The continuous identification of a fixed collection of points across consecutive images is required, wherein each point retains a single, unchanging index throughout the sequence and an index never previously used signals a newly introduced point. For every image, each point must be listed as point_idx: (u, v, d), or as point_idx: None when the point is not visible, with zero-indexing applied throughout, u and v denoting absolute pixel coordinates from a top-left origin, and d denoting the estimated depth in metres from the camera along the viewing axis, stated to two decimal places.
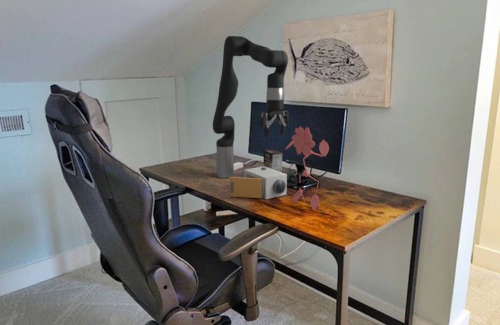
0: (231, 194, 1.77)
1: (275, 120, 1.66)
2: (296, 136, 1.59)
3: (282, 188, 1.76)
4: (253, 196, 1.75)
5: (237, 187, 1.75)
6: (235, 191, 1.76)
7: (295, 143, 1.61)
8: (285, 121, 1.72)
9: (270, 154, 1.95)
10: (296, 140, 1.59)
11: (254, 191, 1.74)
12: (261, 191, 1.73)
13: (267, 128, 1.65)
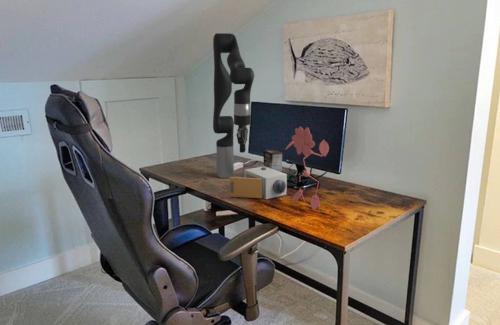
0: (231, 194, 1.77)
1: None
2: (296, 136, 1.59)
3: (282, 188, 1.76)
4: (253, 196, 1.75)
5: (237, 187, 1.75)
6: (235, 191, 1.76)
7: (295, 143, 1.61)
8: None
9: (270, 154, 1.95)
10: (296, 140, 1.59)
11: (254, 191, 1.74)
12: (261, 191, 1.73)
13: (243, 143, 1.73)
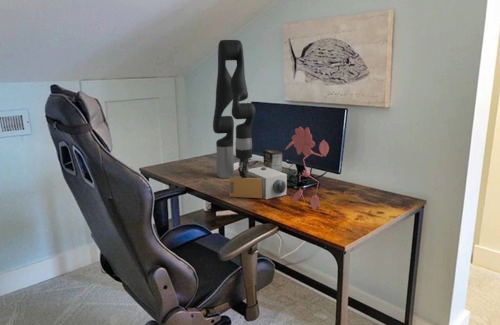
0: (231, 194, 1.77)
1: None
2: (296, 136, 1.59)
3: (282, 188, 1.76)
4: (253, 196, 1.75)
5: (237, 187, 1.75)
6: (235, 191, 1.76)
7: (295, 143, 1.61)
8: None
9: (270, 154, 1.95)
10: (296, 140, 1.59)
11: (254, 191, 1.74)
12: (261, 191, 1.73)
13: None
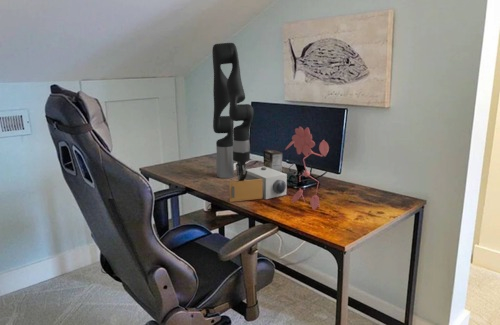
0: (232, 199, 1.70)
1: None
2: (296, 136, 1.59)
3: (282, 188, 1.76)
4: (254, 198, 1.73)
5: (238, 191, 1.70)
6: (236, 195, 1.70)
7: (295, 143, 1.61)
8: None
9: (270, 154, 1.95)
10: (296, 140, 1.59)
11: (255, 192, 1.72)
12: (262, 191, 1.73)
13: None
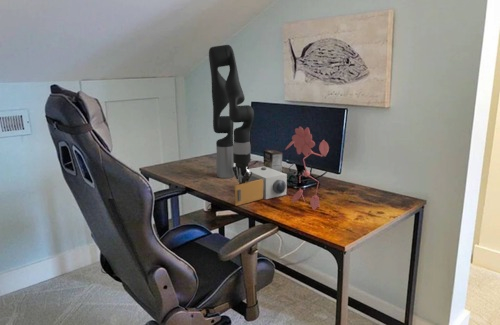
0: (237, 203, 1.65)
1: None
2: (296, 136, 1.59)
3: (282, 188, 1.76)
4: (256, 199, 1.71)
5: (243, 193, 1.66)
6: (241, 198, 1.66)
7: (295, 143, 1.61)
8: (237, 176, 1.72)
9: (270, 154, 1.95)
10: (296, 140, 1.59)
11: (257, 193, 1.71)
12: (262, 191, 1.73)
13: None
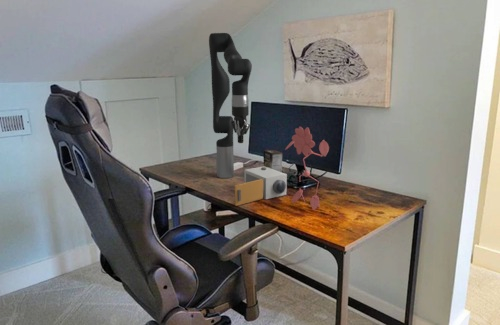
0: (237, 203, 1.65)
1: None
2: (296, 136, 1.59)
3: (282, 188, 1.76)
4: (256, 199, 1.71)
5: (243, 193, 1.66)
6: (241, 198, 1.66)
7: (295, 143, 1.61)
8: None
9: (270, 154, 1.95)
10: (296, 140, 1.59)
11: (257, 193, 1.71)
12: (262, 191, 1.73)
13: None
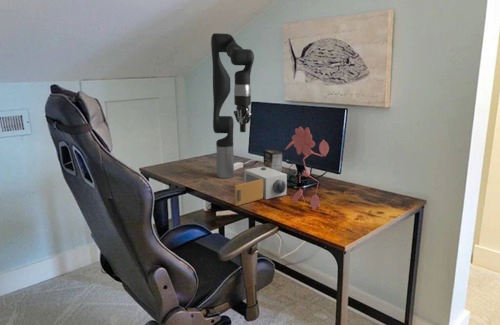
0: (237, 203, 1.65)
1: None
2: (296, 136, 1.59)
3: (282, 188, 1.76)
4: (256, 199, 1.71)
5: (243, 193, 1.66)
6: (241, 198, 1.66)
7: (295, 143, 1.61)
8: None
9: (270, 154, 1.95)
10: (296, 140, 1.59)
11: (257, 193, 1.71)
12: (262, 191, 1.73)
13: None
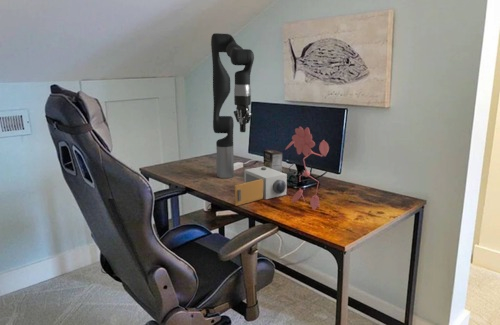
0: (237, 203, 1.65)
1: None
2: (296, 136, 1.59)
3: (282, 188, 1.76)
4: (256, 199, 1.71)
5: (243, 193, 1.66)
6: (241, 198, 1.66)
7: (295, 143, 1.61)
8: None
9: (270, 154, 1.95)
10: (296, 140, 1.59)
11: (257, 193, 1.71)
12: (262, 191, 1.73)
13: None
